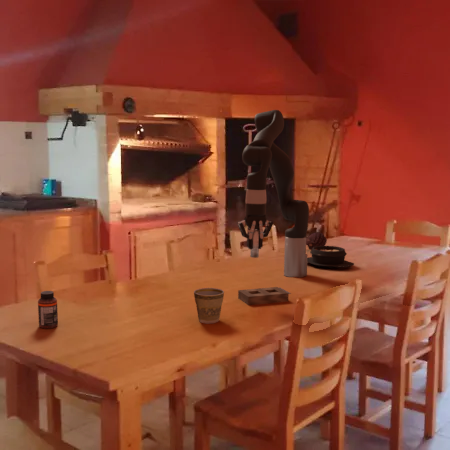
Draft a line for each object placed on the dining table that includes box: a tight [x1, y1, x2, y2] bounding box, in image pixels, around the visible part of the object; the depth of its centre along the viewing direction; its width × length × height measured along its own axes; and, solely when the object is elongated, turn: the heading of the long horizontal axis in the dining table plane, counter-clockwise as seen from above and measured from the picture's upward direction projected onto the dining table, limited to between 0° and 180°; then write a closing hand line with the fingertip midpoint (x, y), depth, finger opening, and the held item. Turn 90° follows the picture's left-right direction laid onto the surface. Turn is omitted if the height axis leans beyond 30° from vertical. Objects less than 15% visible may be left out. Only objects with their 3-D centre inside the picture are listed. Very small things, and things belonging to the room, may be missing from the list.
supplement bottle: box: [37, 290, 59, 329], centre depth 204 cm, size 6×6×11 cm
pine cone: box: [306, 231, 328, 251], centre depth 335 cm, size 18×10×10 cm, turn 137°
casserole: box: [307, 245, 355, 269], centre depth 298 cm, size 25×19×8 cm
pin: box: [249, 229, 260, 259], centre depth 233 cm, size 3×3×10 cm
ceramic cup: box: [193, 287, 225, 325], centre depth 212 cm, size 13×10×10 cm
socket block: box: [237, 286, 290, 306], centre depth 237 cm, size 16×10×4 cm, turn 110°
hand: (254, 248), depth 233 cm, fingers closed on pin, 3 cm apart
